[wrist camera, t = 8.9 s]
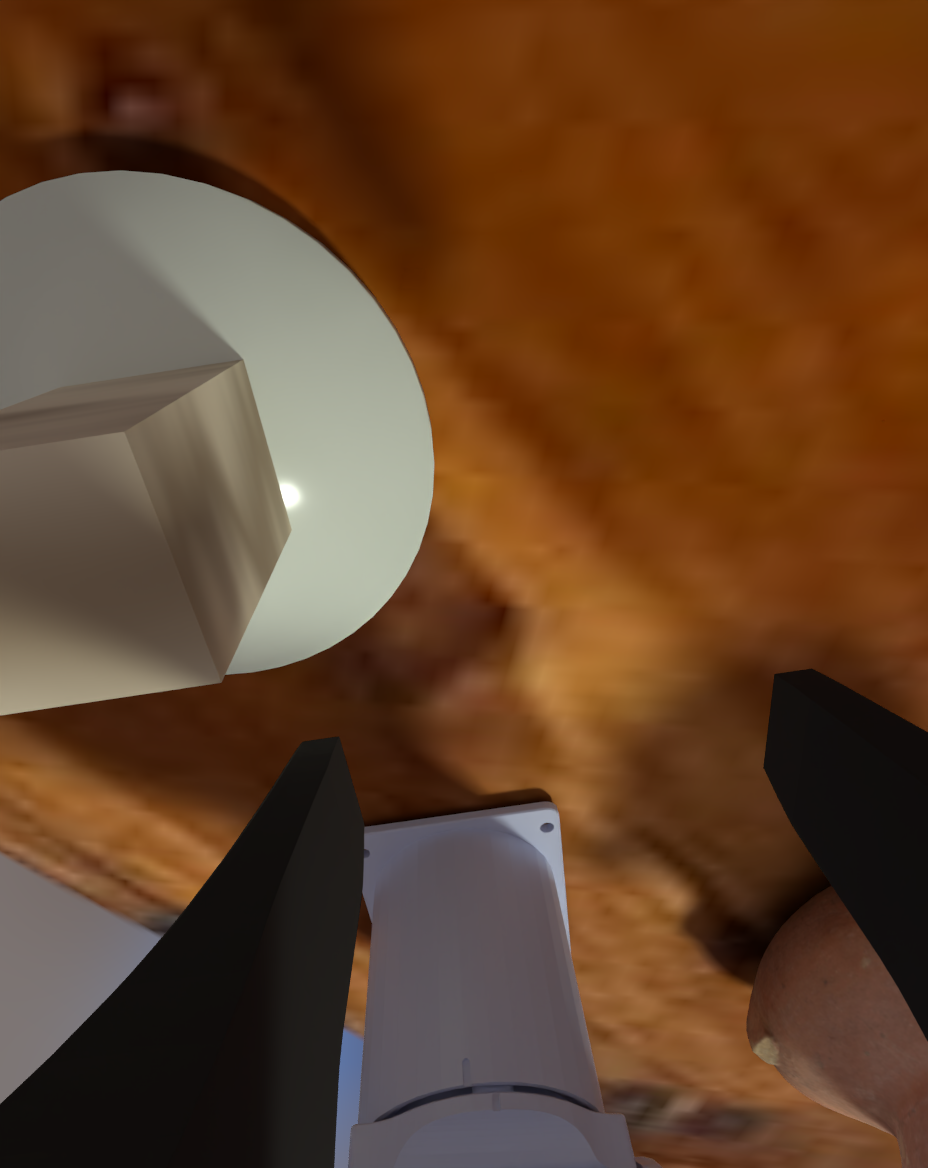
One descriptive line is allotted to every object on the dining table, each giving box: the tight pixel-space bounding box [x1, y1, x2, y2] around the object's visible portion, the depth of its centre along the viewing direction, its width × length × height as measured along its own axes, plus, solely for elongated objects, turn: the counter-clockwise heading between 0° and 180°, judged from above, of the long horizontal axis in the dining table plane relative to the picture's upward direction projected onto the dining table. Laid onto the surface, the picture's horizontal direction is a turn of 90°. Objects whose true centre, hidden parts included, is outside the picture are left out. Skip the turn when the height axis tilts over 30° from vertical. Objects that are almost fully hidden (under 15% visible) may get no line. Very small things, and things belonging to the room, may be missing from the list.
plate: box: [0, 170, 434, 675], centre depth 17 cm, size 13×13×1 cm
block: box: [0, 360, 292, 715], centre depth 13 cm, size 4×4×7 cm
